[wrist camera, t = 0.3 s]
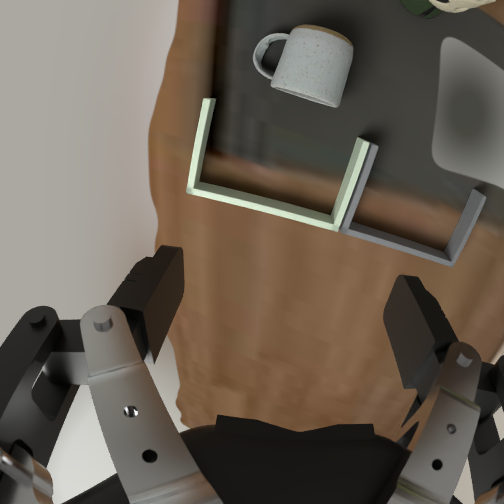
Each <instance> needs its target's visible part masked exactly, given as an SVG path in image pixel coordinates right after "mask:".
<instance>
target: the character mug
mask: <svg viewBox="0 0 504 504" xmlns="http://www.w3.org/2000/svg"><path fill="white" fill-rule="evenodd" d="M400 1H401V2H402V4H403V5H404V6H405V8H406V9H407V10H409V11H410V12H411V13H412V14H414V15H416V16H418V15H419V14H421V13H422V14H428V15H427V16H425V17H424V19H428V18H434V17H435V16H437V15H438V14H440V13H441V12H442V11H446V12H454V13H457V12H463V11H465V10H468V9H470V8H476V7H478V6H481V5H484V4H488V3H491V2H495V1H496V0H400Z"/></svg>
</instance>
